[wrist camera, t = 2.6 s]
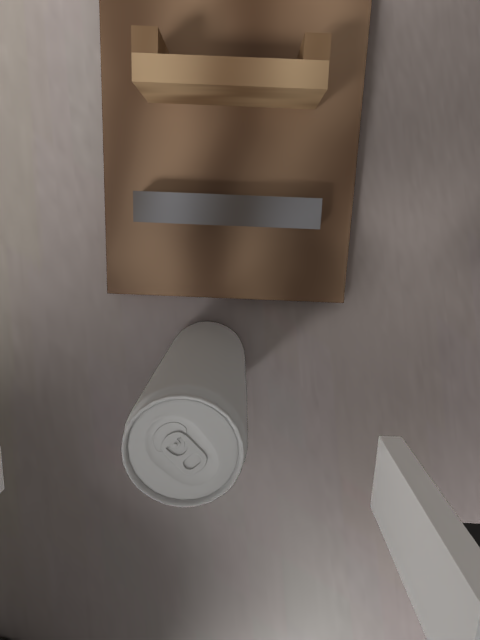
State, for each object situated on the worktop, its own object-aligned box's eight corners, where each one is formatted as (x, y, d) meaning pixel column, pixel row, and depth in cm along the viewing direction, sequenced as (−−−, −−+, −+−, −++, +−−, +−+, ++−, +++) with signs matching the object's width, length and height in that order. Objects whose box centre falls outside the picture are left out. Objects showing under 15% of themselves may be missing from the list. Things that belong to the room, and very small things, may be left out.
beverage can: (211, 303, 27) (185, 365, 15) (261, 359, 27) (275, 459, 16) (155, 352, 27) (89, 447, 16) (206, 405, 28) (179, 533, 16)
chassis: (113, 290, 27) (86, 304, 22) (102, -139, 22) (65, -236, 17) (339, 299, 27) (358, 315, 22) (377, -128, 22) (413, -222, 17)
